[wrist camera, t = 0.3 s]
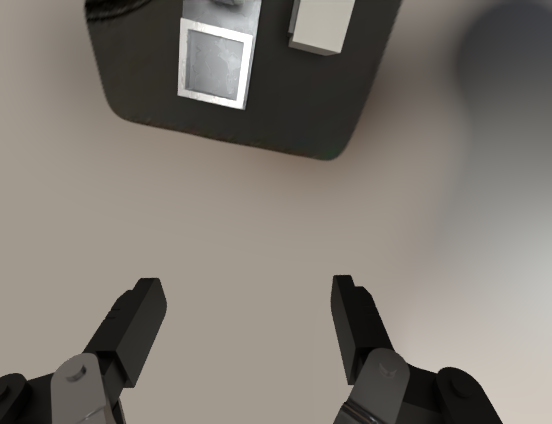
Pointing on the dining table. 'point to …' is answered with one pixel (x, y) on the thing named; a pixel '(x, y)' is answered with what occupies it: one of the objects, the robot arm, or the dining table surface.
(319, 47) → the block
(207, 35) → the base with upright block
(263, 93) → the dining table surface
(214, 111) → the dining table surface
